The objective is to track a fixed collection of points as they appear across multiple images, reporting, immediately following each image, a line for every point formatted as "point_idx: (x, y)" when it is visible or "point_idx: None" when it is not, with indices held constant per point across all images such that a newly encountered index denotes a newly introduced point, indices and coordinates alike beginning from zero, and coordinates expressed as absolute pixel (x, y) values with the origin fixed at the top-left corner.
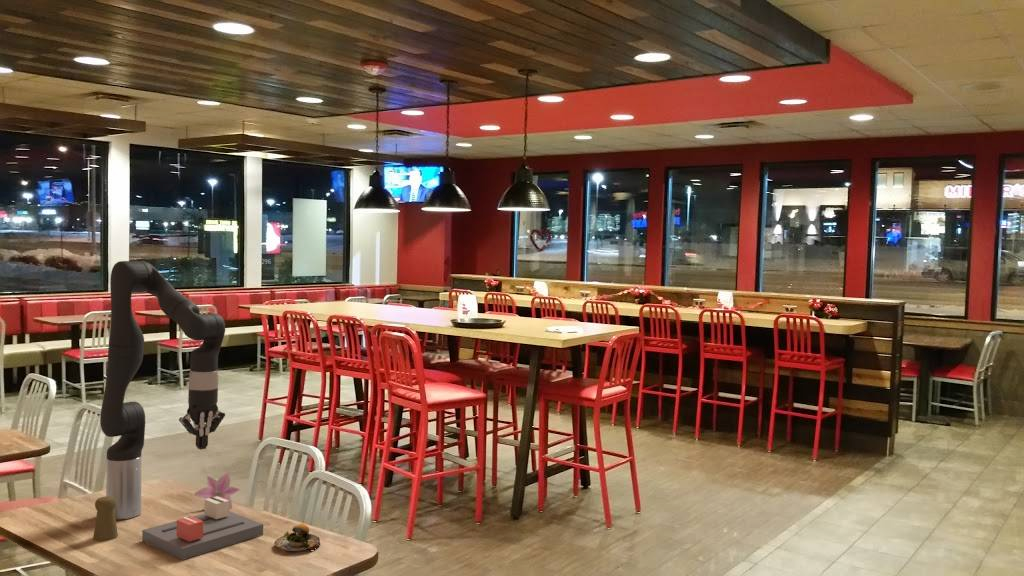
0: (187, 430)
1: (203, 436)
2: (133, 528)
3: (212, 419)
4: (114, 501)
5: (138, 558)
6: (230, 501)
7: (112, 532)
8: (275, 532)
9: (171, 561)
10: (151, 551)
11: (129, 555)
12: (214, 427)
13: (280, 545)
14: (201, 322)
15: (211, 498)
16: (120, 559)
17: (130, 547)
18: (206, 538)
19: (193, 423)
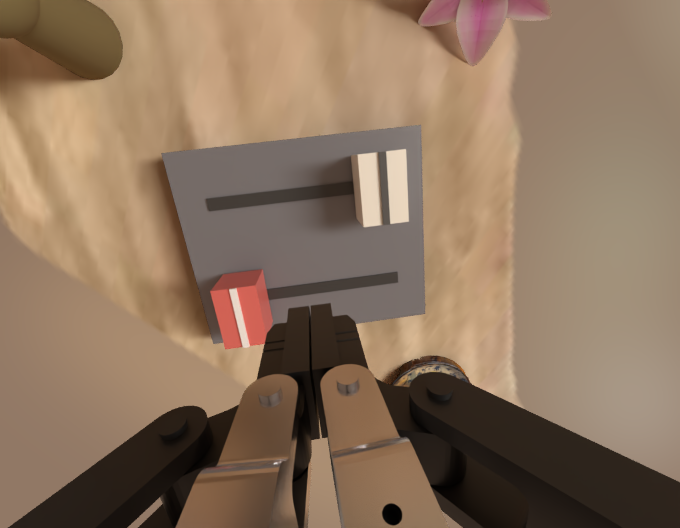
0: (103, 469)
1: (312, 438)
2: (177, 18)
3: (585, 511)
4: (10, 18)
5: (140, 264)
6: (489, 42)
7: (89, 69)
8: (443, 305)
9: (199, 322)
10: (177, 241)
11: (125, 232)
12: (464, 502)
13: (402, 381)
14: None
15: (379, 162)
16: (101, 243)
17: (137, 180)
18: (281, 320)
19: (182, 514)
